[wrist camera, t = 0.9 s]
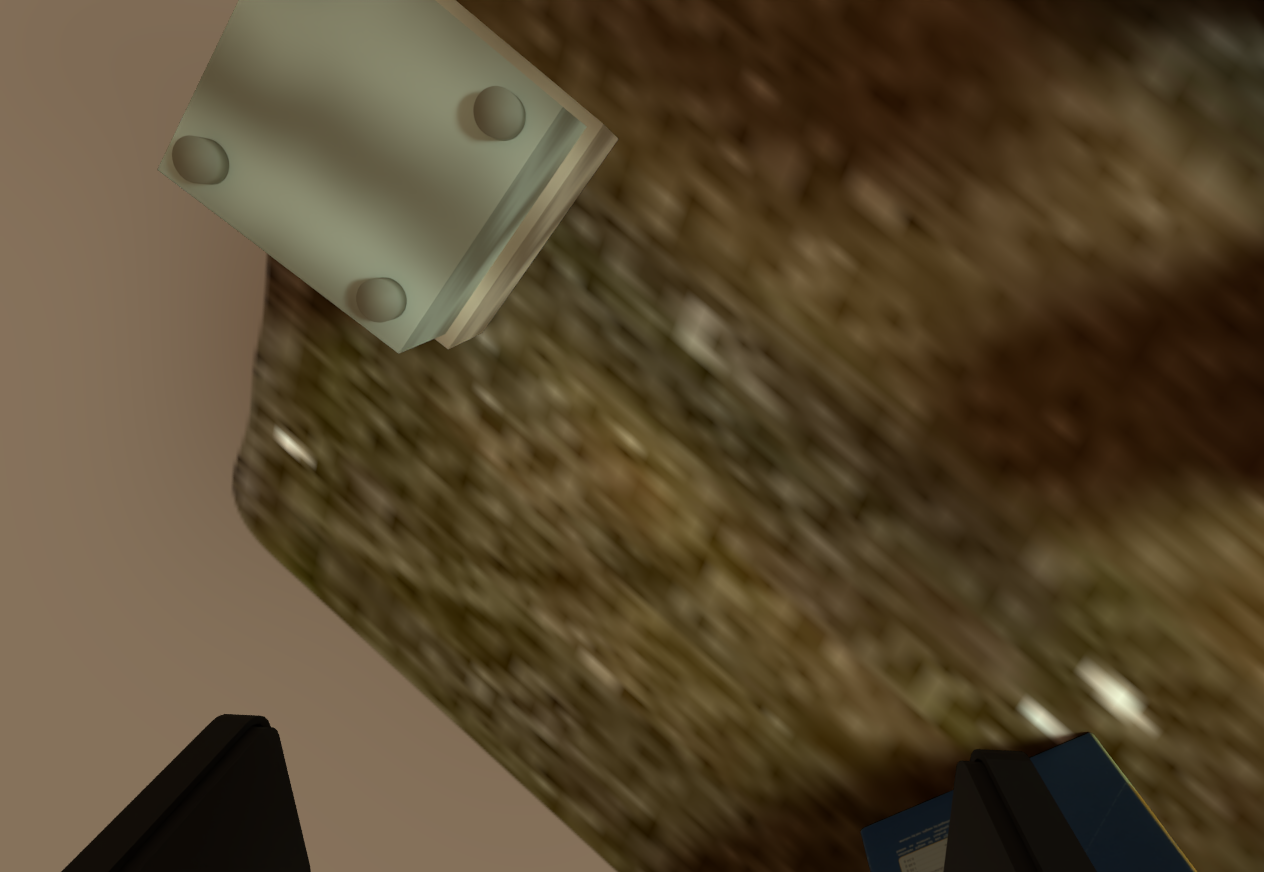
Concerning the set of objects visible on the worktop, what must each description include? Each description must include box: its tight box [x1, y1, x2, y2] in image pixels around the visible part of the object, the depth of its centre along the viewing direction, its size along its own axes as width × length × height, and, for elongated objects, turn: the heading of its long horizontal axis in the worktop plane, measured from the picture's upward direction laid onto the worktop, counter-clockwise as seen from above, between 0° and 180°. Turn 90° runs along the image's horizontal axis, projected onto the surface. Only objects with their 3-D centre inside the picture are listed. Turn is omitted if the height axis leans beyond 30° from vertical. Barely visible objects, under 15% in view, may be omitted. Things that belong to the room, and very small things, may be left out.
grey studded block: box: [158, 0, 618, 353], centre depth 29 cm, size 12×12×11 cm
